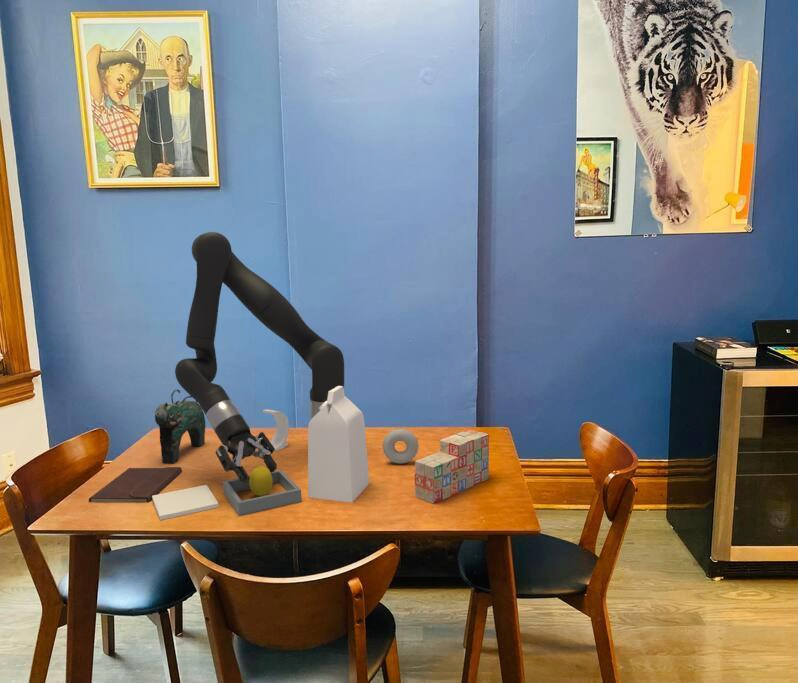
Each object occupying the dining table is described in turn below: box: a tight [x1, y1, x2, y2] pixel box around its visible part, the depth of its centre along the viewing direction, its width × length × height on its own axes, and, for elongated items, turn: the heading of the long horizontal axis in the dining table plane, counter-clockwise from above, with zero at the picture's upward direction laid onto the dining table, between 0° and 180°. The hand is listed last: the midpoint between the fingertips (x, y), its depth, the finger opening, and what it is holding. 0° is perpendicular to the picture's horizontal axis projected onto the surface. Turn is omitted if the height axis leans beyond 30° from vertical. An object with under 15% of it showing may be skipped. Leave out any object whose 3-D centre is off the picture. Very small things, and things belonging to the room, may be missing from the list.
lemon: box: [249, 465, 273, 497], centre depth 149 cm, size 6×6×8 cm
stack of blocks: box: [414, 429, 490, 504], centre depth 152 cm, size 21×6×12 cm, turn 135°
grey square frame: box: [222, 469, 303, 517], centre depth 149 cm, size 15×15×3 cm
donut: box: [382, 428, 419, 465], centre depth 169 cm, size 10×4×10 cm, turn 88°
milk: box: [307, 386, 370, 503], centre depth 151 cm, size 12×12×26 cm
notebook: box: [88, 466, 183, 503], centre depth 157 cm, size 15×20×2 cm
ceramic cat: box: [154, 389, 206, 465], centre depth 180 cm, size 20×6×20 cm, turn 166°
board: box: [151, 484, 220, 521], centre depth 146 cm, size 13×13×1 cm
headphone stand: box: [262, 409, 290, 452], centre depth 185 cm, size 5×6×12 cm
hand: (261, 475), depth 148 cm, fingers open, 8 cm apart
